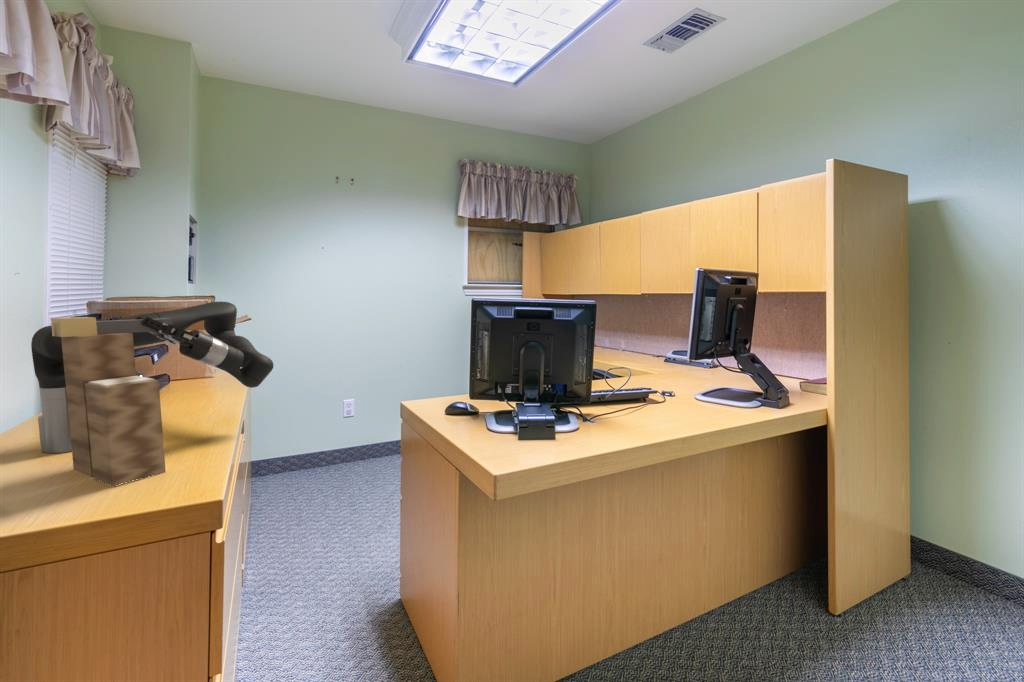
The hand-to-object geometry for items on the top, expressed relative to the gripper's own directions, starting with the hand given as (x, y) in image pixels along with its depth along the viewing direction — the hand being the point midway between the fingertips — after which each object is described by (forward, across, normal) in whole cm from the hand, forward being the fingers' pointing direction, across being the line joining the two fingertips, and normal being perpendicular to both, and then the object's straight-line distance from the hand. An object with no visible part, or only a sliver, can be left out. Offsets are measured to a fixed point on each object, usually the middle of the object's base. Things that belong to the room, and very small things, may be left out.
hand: (139, 320), depth 119 cm
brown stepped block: (-10, +5, +35) cm, 36 cm away
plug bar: (+3, 0, +5) cm, 5 cm away
